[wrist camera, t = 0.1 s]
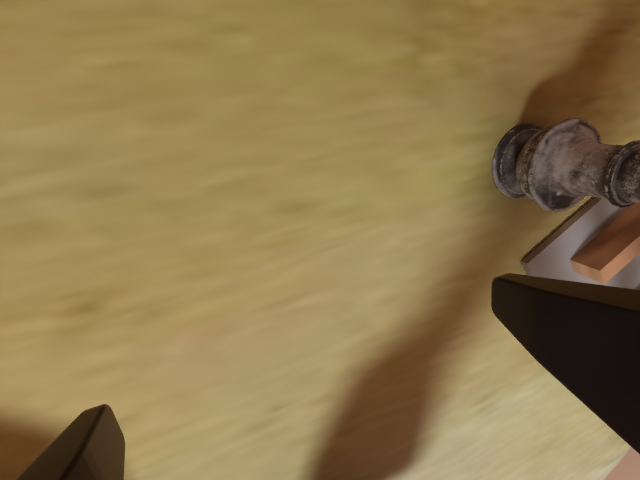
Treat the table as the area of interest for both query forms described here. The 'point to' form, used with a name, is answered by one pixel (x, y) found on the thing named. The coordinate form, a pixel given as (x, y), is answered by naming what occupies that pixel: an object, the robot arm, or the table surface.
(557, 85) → the table surface
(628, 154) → the salt shaker
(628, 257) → the wooden u-frame tray
